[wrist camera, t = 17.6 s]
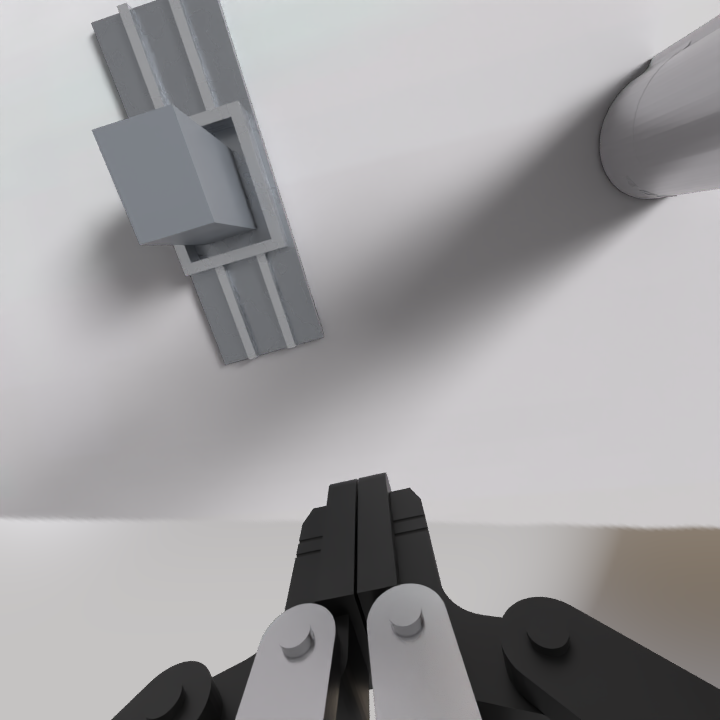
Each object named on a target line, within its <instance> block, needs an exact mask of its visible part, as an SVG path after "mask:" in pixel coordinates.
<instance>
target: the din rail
mask: <svg viewBox="0 0 720 720" xmlns="http://www.w3.org/2000/svg"><path fill="white" fill-rule="evenodd" d="M117 8H118V10H119V13H118V14H116V15H113V16H110V17H107V18H104V19H101V20H98V21H95V22H93V23H91V24H92V27H93V29H94V32H95V34H96V37H97V39H98V42H99V44H100V47H101V49H102V52H103V55H104V57H105V60H106V62H107V65H108V67H109V70H110V72H111V75H112V77H113V80H114V83H115V85H116V88H117V90H118V93H119V95H120V98H121V100H122V103H123V105H124V108H125V111H126V113H127V116H128V118H130V117H133V116H136V115H140V114H143V113H146V112H149V111H152V110H155V109H158V108H161V107H164V106H167V105H170V104H173V105H174V106H175V107H176V108H178V109H179V110H180V111H182V112H183V113H184V114H186V115H187V116H188V117H189V118H191V119H192V120H193V121H195V122H196V123H197V124H199V125H200V126H201V127H202V128H204V129H205V130H206V131H208V132H209V133H210V134H212V135H213V136H214V137H216V138H217V139H218V140H219V141H221V142H222V143H223V144H225V145H226V146H227V147H229V148H230V149H231V152H232V155H233V158H234V161H235V164H236V167H237V170H238V173H239V176H240V179H241V182H242V185H243V188H244V191H245V194H246V197H247V200H248V203H249V206H250V209H251V211H252V214H253V217H254V220H255V223H256V226H257V230H254V231H250V232H247V233H244V234H240V235H237V236H233V237H230V238H227V239H223V240H220V241H217V242H213V243H210V244H207V245H173V246H174V248H175V251H176V253H177V256H178V259H179V261H180V264H181V266H182V269H183V271H184V274H185V276H188V275H190V276H191V279H192V281H193V284H194V286H195V289H196V291H197V294H198V296H199V299H200V302H201V304H202V307H203V309H204V312H205V314H206V317H207V319H208V322H209V324H210V327H211V330H212V332H213V335H214V337H215V340H216V342H217V345H218V347H219V350H220V353H221V355H222V358H223V360H224V363H225V365H226V364H230V363H233V362H237V361H240V360H244V359H248V358H249V360H250V359H254V358H257V357H258V356H259V355H262V354H266V353H269V352H273V351H276V350H280V349H284V348H288V349H290V348H293V347H296V346H297V345H298V344H302V343H305V342H309V341H312V340H316V339H320V338H323V337H324V333H323V330H322V327H321V324H320V320H319V317H318V314H317V311H316V308H315V305H314V301H313V298H312V295H311V292H310V289H309V285H308V282H307V279H306V276H305V273H304V269H303V266H302V263H301V260H300V257H299V253H298V250H297V247H296V244H295V241H294V237H293V234H292V231H291V228H290V225H289V221H288V218H287V215H286V212H285V209H284V206H283V202H282V199H281V196H280V193H279V190H278V186H277V183H276V180H275V177H274V174H273V170H272V167H271V164H270V161H269V158H268V154H267V151H266V148H265V145H264V142H263V138H262V135H261V132H260V129H259V126H258V122H257V119H256V116H255V113H254V110H253V107H252V103H251V100H250V97H249V94H248V91H247V87H246V84H245V81H244V78H243V75H242V71H241V68H240V65H239V62H238V59H237V55H236V52H235V49H234V46H233V43H232V39H231V36H230V33H229V30H228V27H227V24H226V20H225V17H224V14H223V11H222V8H221V4H220V1H219V0H156V1H153V2H150V3H147V4H144V5H142V6H139V7H136V8H133V9H132V8H131V7H130V6H129V5H128V4H127V3H125V4H122V5H119V6H117Z"/></svg>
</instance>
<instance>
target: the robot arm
mask: <svg viewBox="0 0 720 720" xmlns="http://www.w3.org/2000/svg"><path fill="white" fill-rule="evenodd" d="M600 156H601V162H602V165H603V167H604V170H605V173H606V174H607V176H608V178H609V179H610V181H611V182H612V183H613V184H614V185H615V186H616V187H617V188H618V189H619V190H620V191H622V192H624V193H626V194H628V195H629V196H633V197H637V198H641V199H655V198H662V197H672V196H677V195H681V194H687V193H694V192H701V191H707V190H713V189H720V15H718V16H717V17H715V18H714V19H712V20H710V21H709V22H707V23H706V24H704V25H702V26H701V27H699V28H698V29H696V30H695V31H693V32H691V33H690V34H688V35H687V36H685V37H684V38H682V39H680V40H679V41H677V42H676V43H674V44H673V45H671V46H669V47H668V48H666V49H665V50H663V51H662V52H660V53H658V54H657V55H655V56H654V57H653V58H652V60H651V63H650V65H649V67H648V68H647V70H646V71H645V72H644V73H643V74H641V75H640V76H639V77H637V78H636V79H634V80H633V81H631V82H630V83H629V84H628V85H627V86H626V87H625V88H624V89H623V90H622V91H621V92H620V93H619V94H618V96H617V97H616V99H615V100H614V102H613V103H612V105H611V106H610V108H609V110H608V112H607V115H606V117H605V119H604V122H603V126H602V130H601V134H600ZM299 541H300V544H299V545H298V549H297V554H296V555H297V558H296V559H295V564H294V568H293V573H292V578H291V583H290V588H289V593H288V598H287V602H286V607H285V612H283V613H282V614H281V615H279V616H278V617H277V618H276V619H275V620H274V621H273V622H272V623H271V624H270V625H269V627H268V628H267V630H266V631H265V633H264V635H263V636H262V639H261V641H260V645H259V647H258V650H257V653H256V654H254V655H253V656H251V657H250V658H248V659H246V660H245V661H243V662H241V663H239V664H237V665H235V666H233V667H231V668H229V669H227V670H226V671H224V672H222V673H220V674H218V675H216V676H214V677H212V676H211V674H210V672H209V670H208V669H207V667H206V666H205V665H203V664H202V663H199V662H196V661H188V662H183V663H179V664H177V665H174V666H172V667H170V668H169V669H167V670H165V671H164V672H162V673H161V674H159V675H158V676H157V677H156V678H154V679H153V680H152V681H151V682H150V683H149V684H148V685H147V686H146V687H145V688H144V689H143V690H142V691H141V692H140V693H139V694H137V695H136V696H135V698H133V699H132V700H131V701H130V703H128V704H127V705H126V706H125V707H124V708H123V709H122V710H121V711H120V712H119V713H118V714H117V715H116V716H115V717H114V718H113V719H112V720H369V718H370V717H369V690H370V689H373V696H374V706H375V716H376V720H720V689H718V688H716V687H714V686H713V685H711V684H709V683H707V682H705V681H704V680H702V679H700V678H698V677H697V676H695V675H693V674H691V673H689V672H688V671H686V670H684V669H682V668H681V667H679V666H677V665H675V664H674V663H672V662H670V661H668V660H667V659H665V658H663V657H661V656H659V655H658V654H656V653H654V652H652V651H651V650H649V649H647V648H645V647H643V646H642V645H640V644H638V643H636V642H635V641H633V640H631V639H629V638H627V637H626V636H624V635H622V634H620V633H619V632H617V631H615V630H613V629H611V628H610V627H608V626H606V625H604V624H602V623H600V622H599V621H597V620H595V619H594V618H592V617H590V616H588V615H587V614H584V613H583V612H581V611H579V610H578V609H576V608H574V607H572V606H571V605H568V604H566V603H564V602H562V601H559V600H556V599H552V598H547V597H532V598H527V599H523V600H521V601H518V602H516V603H515V604H514V605H512V606H511V607H510V608H509V609H508V610H507V611H506V612H505V614H504V615H503V618H501V617H493V616H486V615H480V614H475V613H472V612H469V611H466V610H464V609H462V608H460V607H459V606H457V605H456V604H455V603H453V602H452V601H451V600H450V599H449V598H448V596H447V595H446V594H445V592H444V591H443V589H442V586H441V582H440V577H439V573H438V569H437V565H436V560H435V556H434V552H433V548H432V544H431V540H430V535H429V531H428V527H427V523H426V519H425V514H424V510H423V506H422V502H421V499H420V498H419V497H418V496H417V495H416V494H415V493H414V492H413V491H412V490H411V489H410V488H407V489H402V490H397V491H393V492H391V488H390V484H389V481H388V477H387V474H386V472H385V473H381V474H376V475H372V476H367V477H363V478H359V480H358V479H354V480H349V481H345V482H340V483H336V484H331V485H330V486H329V491H328V499H327V506H323V507H319V508H314V509H313V510H312V511H311V513H310V514H309V516H308V517H307V519H306V520H305V521H304V523H303V525H302V530H301V535H300V539H299Z"/></svg>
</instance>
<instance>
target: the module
mask: <svg viewBox="0 0 720 720" xmlns="http://www.w3.org/2000/svg"><path fill="white" fill-rule="evenodd" d="M92 132H93V134H94V136H95V139H96V141H97V144H98V146H99V148H100V151H101V153H102V156H103V158H104V160H105V163H106V165H107V168H108V170H109V172H110V175H111V177H112V180H113V182H114V184H115V187H116V189H117V192H118V194H119V196H120V199H121V201H122V204H123V206H124V208H125V211H126V213H127V216H128V218H129V220H130V223H131V225H132V227H133V230H134V232H135V235H136V237H137V239H138V242H139V244H140V245H207V244H210V243H213V242H217V241H220V240H223V239H227V238H230V237H233V236H237V235H240V234H244V233H247V232H250V231H254V230H257V226H256V223H255V220H254V217H253V214H252V211H251V209H250V206H249V203H248V200H247V197H246V194H245V191H244V188H243V185H242V182H241V179H240V176H239V173H238V170H237V167H236V164H235V161H234V158H233V155H232V152H231V149H230V148H229V147H227V146H226V145H225V144H223V143H222V142H221V141H219V140H218V139H217V138H216V137H214V136H213V135H212V134H210V133H209V132H208V131H206V130H205V129H204V128H202V127H201V126H200V125H199V124H197V123H196V122H195V121H193V120H192V119H191V118H189V117H188V116H187V115H186V114H184V113H183V112H182V111H180V110H179V109H178V108H176V107H175V106H174V105H173V104H170V105H167V106H164V107H161V108H158V109H155V110H152V111H149V112H146V113H143V114H140V115H136V116H133V117H130V118H127V119H124V120H121V121H118V122H115V123H112V124H109V125H106V126H103V127H100V128H97V129H93V130H92Z"/></svg>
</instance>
